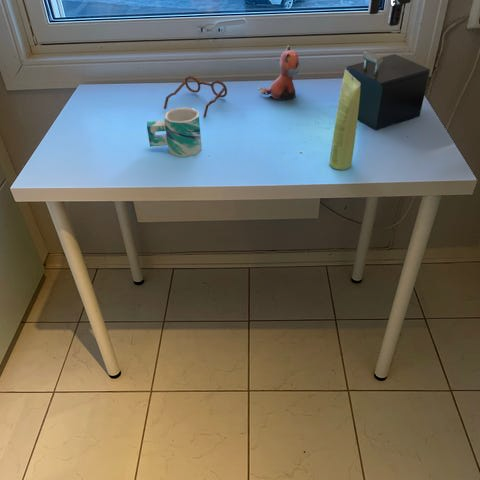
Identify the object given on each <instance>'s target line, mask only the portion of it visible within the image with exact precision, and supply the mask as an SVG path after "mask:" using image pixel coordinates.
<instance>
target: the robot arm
mask: <svg viewBox="0 0 480 480" xmlns="http://www.w3.org/2000/svg"><path fill="white" fill-rule="evenodd" d="M390 2H391V3H390V4H391V5H390V8H389V14H388V20H387V25H388V26H390V27H392V26H393V27H394V26H398V25H399V24H400V21H401V15H402V12H403V11H402V10H403V7H404V5H406V4H410V3H411V2H412V1H411V0H390ZM380 7H381V0H369V1H368V10H367V12H368V14H369V15H378V14H379V12H380Z"/></svg>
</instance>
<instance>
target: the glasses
mask: <svg viewBox="0 0 480 480" xmlns="http://www.w3.org/2000/svg"><path fill="white" fill-rule="evenodd" d="M189 79H192V80H194V81H195V83H197V89H193V88H191V87H190V86H189V83H188V80H189ZM215 84H218V85H220V86H222V88H221V90H220V91H219V92H218V93H217V92H216V90H215V87H214V86H215ZM201 85H205V86H209V87H211V91H212V93H213V95H214V96H215V97H214V98H213V99H212V100H211V101H209V102H208V103H207V104H206V105H205V108H204V112H203V116H202V117H203V118H206V116H207V114H208V110H209V107H210V106H211V105H212V104H214V103H216V102H217V100H218V99H219V98H225V97H226V96H227V95H228V88H227V86H226V84H225V83H224V82H223V81H221V80H213V81H212V82H211V83H210V82H208V81H202V80H201V81H200V80H199V79H198V78H196V77H195V76H193V75H188V76H186V78H185V79H184V80H183V82H182V83H181V84H180V85H179V86H178V87H177V89H175V90H174V91H173V92H171V93H169V94H168V95H167V96H166V97H165V100H164V105H163V109H164V110H166V109H167V108H168V107H167V106H168V102H169V99H170V98H171V97H172V96H176V95H177V94H178V93H179V92H180V90H181V89H183V87H186V88H187V90H189V92H192V93H193V94H194V93H198V92H200V90H201Z"/></svg>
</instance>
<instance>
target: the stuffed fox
mask: <svg viewBox="0 0 480 480" xmlns="http://www.w3.org/2000/svg"><path fill="white" fill-rule="evenodd" d="M279 68H280V74H279V76H278V77H277V78H276V79H275V80H274V81H273V82H272V84H271V85H270V87H269V88H266V87H258V88H257V90H258V91H259V93H260V94H261V95H265V96H271V97H272V99H275V100H279V101H282V100H283V101H287V100H294V99H296V98H297V95H296V88H295V85H294V82H293V80H294V76H296V75H297V74H299V72H300V71H301V65H300V60H299V55H298V54H297V52H296V51H294V50H291V46H290V45H289V44H288V45H287V46H286V48H285V51H284V52H282V53H281V55H280V57H279Z"/></svg>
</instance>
